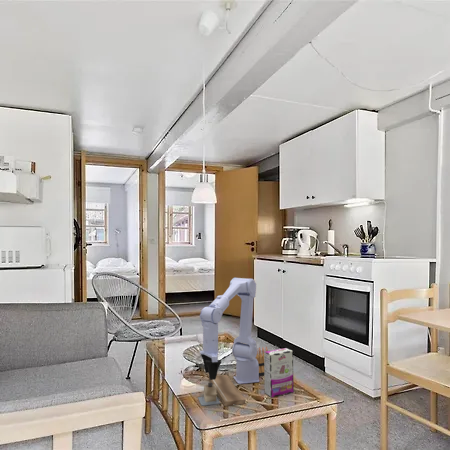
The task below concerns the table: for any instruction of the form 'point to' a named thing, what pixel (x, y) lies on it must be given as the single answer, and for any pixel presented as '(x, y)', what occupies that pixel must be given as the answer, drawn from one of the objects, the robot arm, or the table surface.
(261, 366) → the ammunition clip
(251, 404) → the table surface
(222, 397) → the walnut board
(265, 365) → the candy bar box
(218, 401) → the slate mat
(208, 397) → the block
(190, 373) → the table surface
